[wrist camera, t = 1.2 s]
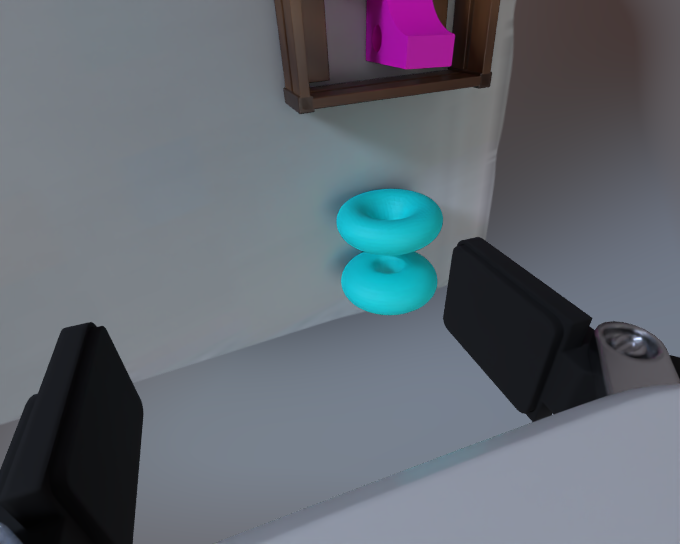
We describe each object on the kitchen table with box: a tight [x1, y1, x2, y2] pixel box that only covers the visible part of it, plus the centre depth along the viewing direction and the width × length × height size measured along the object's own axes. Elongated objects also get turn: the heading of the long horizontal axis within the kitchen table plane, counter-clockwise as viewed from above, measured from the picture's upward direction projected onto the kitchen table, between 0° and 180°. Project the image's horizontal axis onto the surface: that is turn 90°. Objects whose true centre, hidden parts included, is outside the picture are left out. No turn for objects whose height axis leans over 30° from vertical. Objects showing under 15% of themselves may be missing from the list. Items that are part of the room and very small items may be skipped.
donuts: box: [337, 189, 443, 315], centre depth 39 cm, size 10×10×10 cm
